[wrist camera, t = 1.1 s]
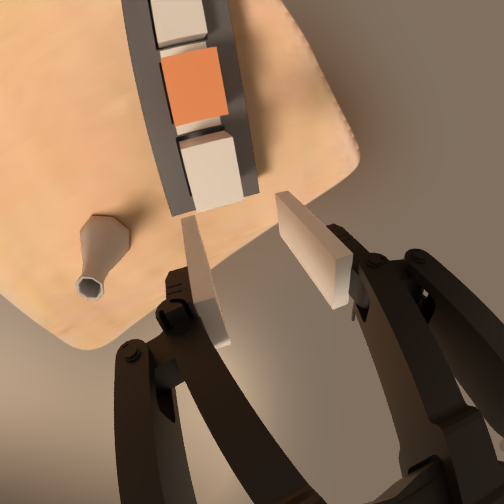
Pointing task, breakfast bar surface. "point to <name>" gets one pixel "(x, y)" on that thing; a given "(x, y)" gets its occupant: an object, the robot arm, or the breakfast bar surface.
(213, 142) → the switch
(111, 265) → the flask
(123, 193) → the breakfast bar surface
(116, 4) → the breakfast bar surface
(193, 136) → the power strip
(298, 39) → the breakfast bar surface
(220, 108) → the switch
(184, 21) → the switch
